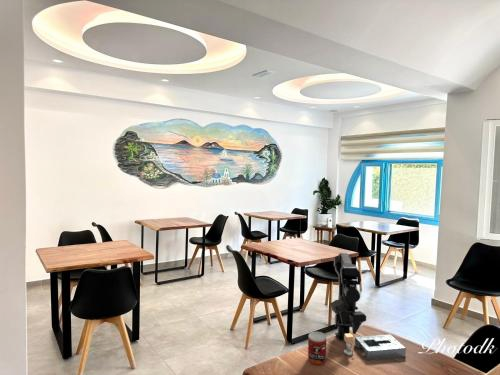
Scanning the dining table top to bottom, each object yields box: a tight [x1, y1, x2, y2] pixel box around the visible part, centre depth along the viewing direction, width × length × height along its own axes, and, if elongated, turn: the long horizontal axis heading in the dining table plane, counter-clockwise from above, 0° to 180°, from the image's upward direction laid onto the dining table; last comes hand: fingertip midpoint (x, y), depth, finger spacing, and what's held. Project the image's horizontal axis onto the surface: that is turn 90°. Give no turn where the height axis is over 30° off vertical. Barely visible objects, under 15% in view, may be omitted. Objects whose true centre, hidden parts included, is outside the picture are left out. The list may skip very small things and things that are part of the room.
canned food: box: [307, 331, 327, 366], centre depth 141 cm, size 8×8×11 cm
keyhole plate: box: [354, 334, 407, 361], centre depth 148 cm, size 12×18×4 cm, turn 98°
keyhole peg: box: [343, 333, 355, 357], centre depth 146 cm, size 4×4×8 cm
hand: (348, 329), depth 144 cm, fingers open, 9 cm apart
